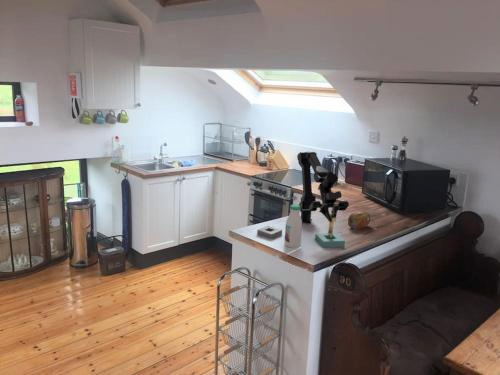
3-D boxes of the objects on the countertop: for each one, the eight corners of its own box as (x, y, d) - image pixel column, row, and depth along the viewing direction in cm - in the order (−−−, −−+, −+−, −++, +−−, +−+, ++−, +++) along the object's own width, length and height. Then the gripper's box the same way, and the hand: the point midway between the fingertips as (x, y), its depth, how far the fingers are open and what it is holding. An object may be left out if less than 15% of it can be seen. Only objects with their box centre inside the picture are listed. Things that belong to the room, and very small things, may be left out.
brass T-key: (325, 234, 214) (327, 214, 211) (329, 234, 214) (331, 214, 212) (330, 238, 208) (332, 218, 206) (334, 238, 209) (336, 217, 206)
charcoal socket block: (267, 231, 225) (267, 225, 224) (281, 235, 219) (282, 229, 218) (257, 235, 218) (257, 229, 217) (271, 240, 212) (271, 234, 212)
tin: (350, 230, 232) (351, 215, 230) (346, 228, 235) (347, 213, 233) (369, 226, 240) (371, 211, 238) (365, 224, 243) (367, 210, 241)
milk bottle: (301, 243, 209) (304, 204, 204) (299, 249, 202) (302, 208, 197) (285, 241, 211) (288, 202, 206) (283, 247, 203) (285, 206, 198)
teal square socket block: (315, 239, 216) (315, 233, 215) (335, 238, 218) (336, 232, 218) (323, 247, 206) (323, 241, 205) (344, 246, 208) (345, 240, 207)
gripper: (313, 185, 207) (319, 214, 199) (349, 185, 211) (357, 213, 203) (306, 196, 216) (312, 224, 209) (341, 196, 220) (348, 223, 213)
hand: (332, 221), depth 208 cm, fingers closed on brass T-key, 2 cm apart
